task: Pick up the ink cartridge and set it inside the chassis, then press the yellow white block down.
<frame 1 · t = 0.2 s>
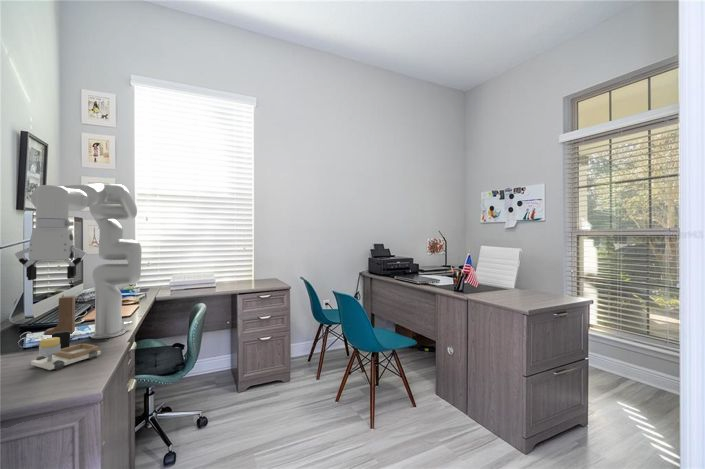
hand: (51, 279, 101), 31 cm above the table, tool pointing down, fingers open, 9 cm apart
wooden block: (59, 339, 136), on the table
chassis: (67, 361, 113), on the table
yellow white block: (49, 346, 108), point 7 cm above the table, slide at 0.0 cm
ink cartridge: (60, 353, 121), on the table
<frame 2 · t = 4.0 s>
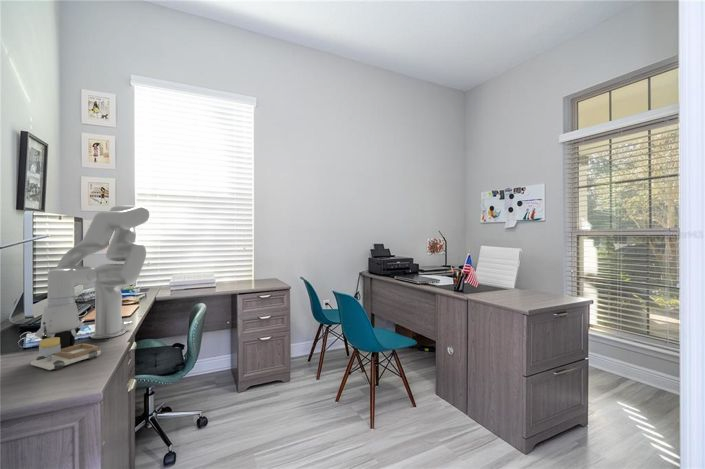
hand: (60, 348, 121), 2 cm above the table, tool pointing down, fingers closed on ink cartridge, 5 cm apart
ink cartridge: (60, 353, 121), on the table, touching gripper
everything else where it was.
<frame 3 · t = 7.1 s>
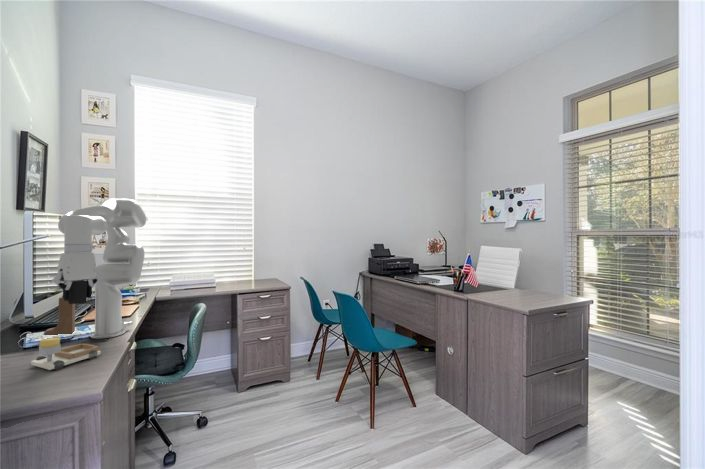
hand: (77, 298, 116), 22 cm above the table, tool pointing down, fingers closed on ink cartridge, 5 cm apart
ink cartridge: (77, 303, 116), point 20 cm above the table, touching gripper
everything else where it was.
when the fingers open (4 cm above the table, at t = 10.5 s): ink cartridge stays where it is, resting on chassis.
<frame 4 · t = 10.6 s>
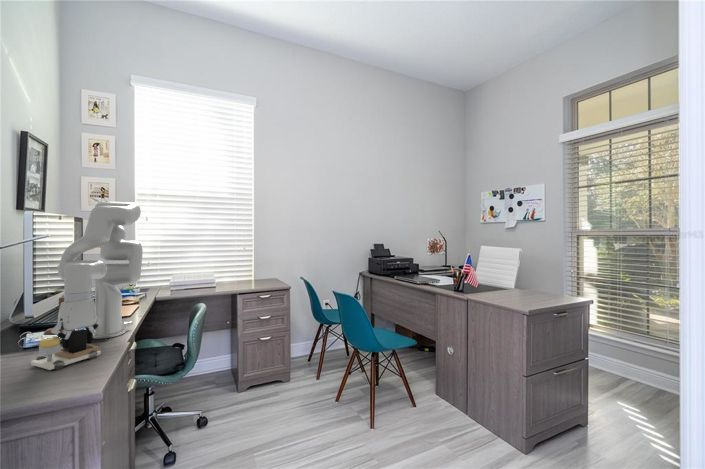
hand: (77, 345, 116), 4 cm above the table, tool pointing down, fingers open, 6 cm apart
yellow white block: (49, 346, 108), point 7 cm above the table, slide at 0.0 cm, touching gripper
ink cartridge: (77, 353, 116), point 2 cm above the table, touching chassis
everything else where it was.
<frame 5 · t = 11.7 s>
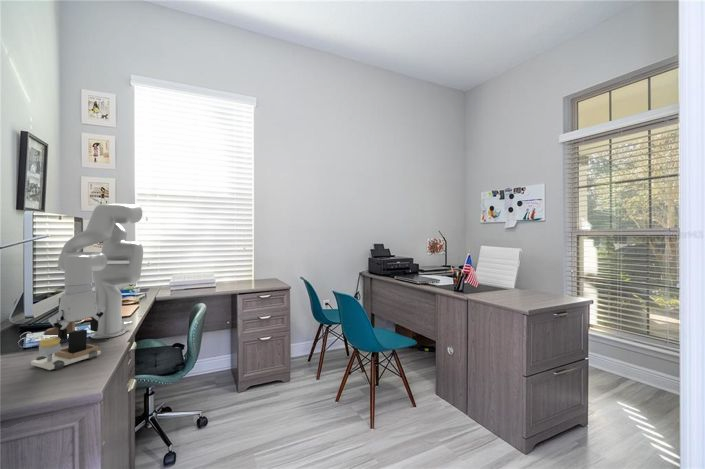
hand: (79, 335, 117), 8 cm above the table, tool pointing down, fingers open, 9 cm apart
yellow white block: (49, 345, 108), point 7 cm above the table, slide at 0.1 cm
everything else where it was.
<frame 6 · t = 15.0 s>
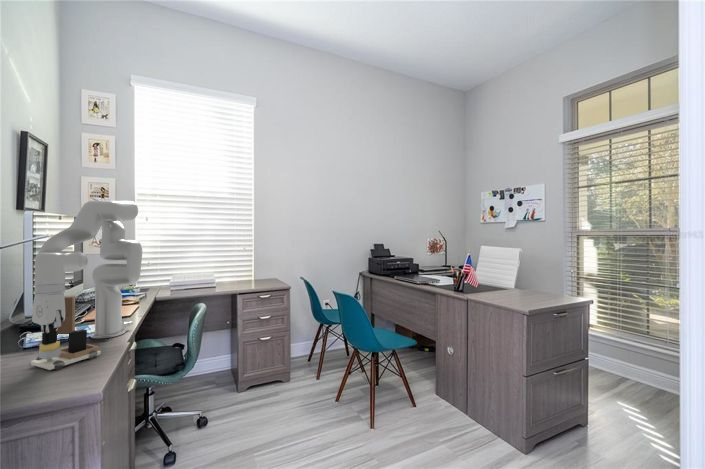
hand: (49, 343, 108), 8 cm above the table, tool pointing down, fingers closed
yellow white block: (49, 349, 108), point 6 cm above the table, slide at -1.2 cm, touching gripper
everything else where it was.
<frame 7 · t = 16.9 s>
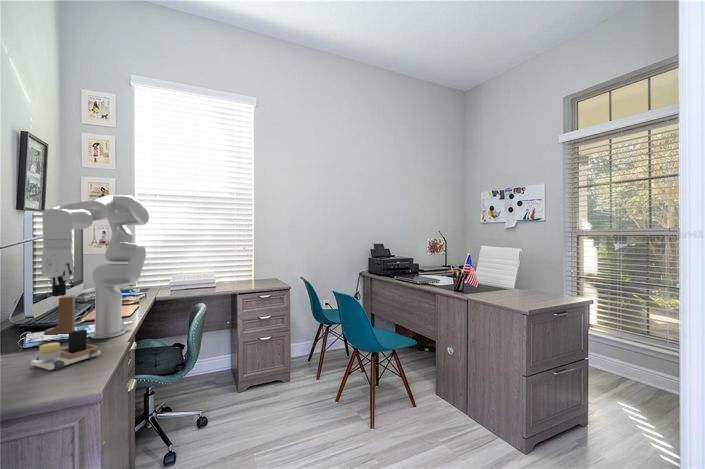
hand: (59, 295, 113), 23 cm above the table, tool pointing down, fingers closed
yellow white block: (49, 351, 108), point 5 cm above the table, slide at -1.8 cm
everything else where it was.
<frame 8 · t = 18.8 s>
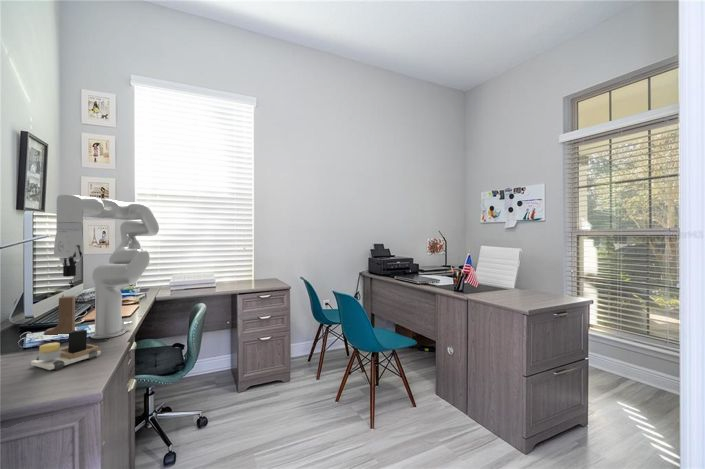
hand: (69, 276, 121), 29 cm above the table, tool pointing down, fingers closed
nothing on the table moved.
at the end: ink cartridge inside the target area on the chassis (0.3 cm from its centre), point 1.8 cm above the chassis's base; ink cartridge tilted 0°; yellow white block slide at -1.8 cm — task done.
